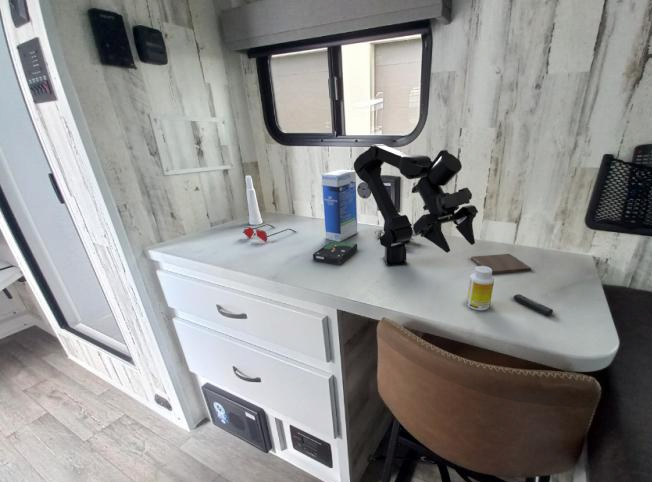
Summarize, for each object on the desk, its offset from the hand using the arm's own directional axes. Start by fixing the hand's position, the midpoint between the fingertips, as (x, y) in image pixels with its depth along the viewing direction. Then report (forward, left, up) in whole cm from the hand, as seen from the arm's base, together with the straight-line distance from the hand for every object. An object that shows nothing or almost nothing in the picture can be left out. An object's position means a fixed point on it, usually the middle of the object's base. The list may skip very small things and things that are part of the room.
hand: (461, 247), depth 78 cm
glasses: (-56, +61, -14) cm, 84 cm away
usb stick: (+16, -10, -14) cm, 23 cm away
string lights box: (-26, +54, -14) cm, 62 cm away
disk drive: (-30, +33, -14) cm, 47 cm away
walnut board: (+22, +15, -13) cm, 30 cm away
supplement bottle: (+3, -7, -14) cm, 15 cm away
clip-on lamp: (-6, +44, -14) cm, 47 cm away
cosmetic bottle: (-65, +81, -14) cm, 105 cm away
